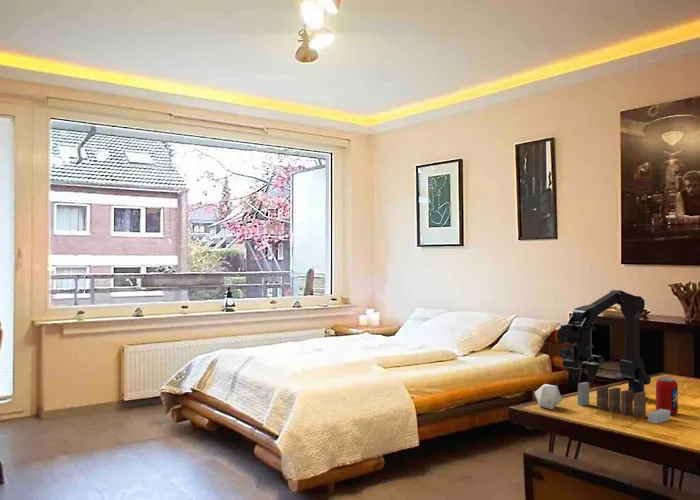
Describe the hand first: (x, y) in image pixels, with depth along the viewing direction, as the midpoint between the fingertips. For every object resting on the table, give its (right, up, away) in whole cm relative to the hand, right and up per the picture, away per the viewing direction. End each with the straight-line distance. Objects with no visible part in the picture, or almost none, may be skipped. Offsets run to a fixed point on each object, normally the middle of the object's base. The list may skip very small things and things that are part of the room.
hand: (583, 384), depth 225 cm
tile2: (+8, -7, -10) cm, 14 cm away
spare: (0, -8, 0) cm, 8 cm away
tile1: (+5, -7, -6) cm, 11 cm away
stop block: (+17, -7, -22) cm, 29 cm away
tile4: (+13, -7, -17) cm, 22 cm away
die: (-14, -8, -4) cm, 17 cm away
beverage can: (+25, -8, -12) cm, 28 cm away
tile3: (+10, -7, -13) cm, 18 cm away
